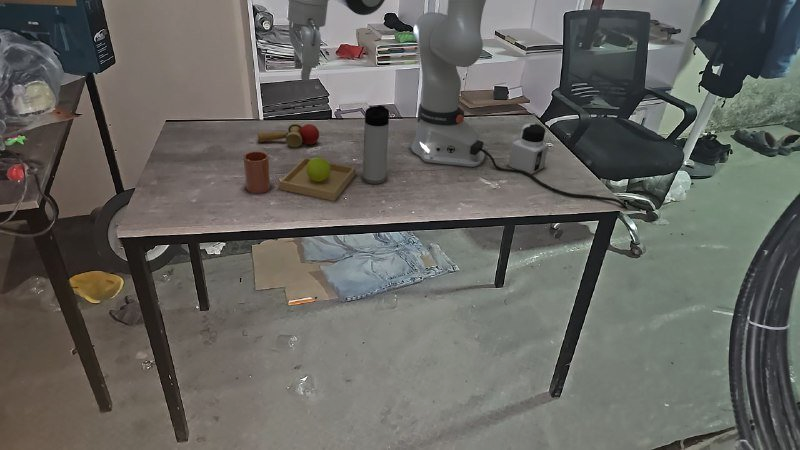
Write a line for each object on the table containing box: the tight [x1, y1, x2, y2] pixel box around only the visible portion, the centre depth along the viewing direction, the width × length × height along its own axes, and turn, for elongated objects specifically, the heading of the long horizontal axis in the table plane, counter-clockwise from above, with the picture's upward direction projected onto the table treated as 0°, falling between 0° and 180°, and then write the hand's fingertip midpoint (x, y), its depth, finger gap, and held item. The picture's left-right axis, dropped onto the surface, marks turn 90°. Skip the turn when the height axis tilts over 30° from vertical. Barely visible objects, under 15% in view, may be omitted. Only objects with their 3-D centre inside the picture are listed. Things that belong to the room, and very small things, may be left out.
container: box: [508, 123, 550, 175], centre depth 163 cm, size 8×8×13 cm
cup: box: [243, 150, 271, 194], centre depth 143 cm, size 6×6×9 cm
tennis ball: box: [306, 156, 331, 182], centre depth 148 cm, size 6×6×6 cm
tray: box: [279, 157, 356, 202], centre depth 150 cm, size 15×15×2 cm
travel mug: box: [362, 104, 390, 185], centre depth 149 cm, size 6×7×20 cm
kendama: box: [257, 122, 320, 148], centre depth 168 cm, size 8×6×18 cm
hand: (301, 73), depth 136 cm, fingers open, 8 cm apart
